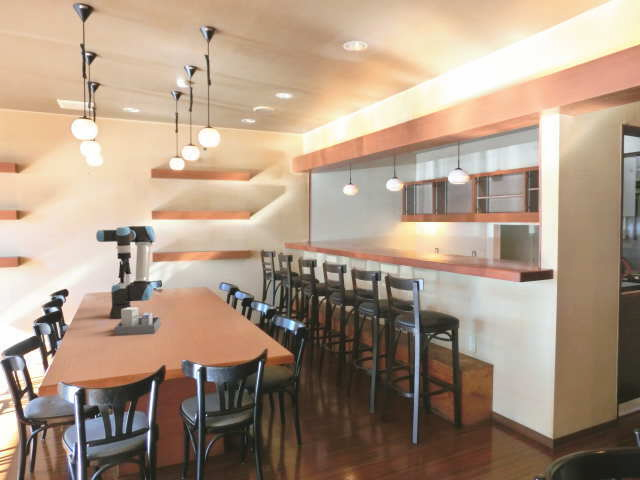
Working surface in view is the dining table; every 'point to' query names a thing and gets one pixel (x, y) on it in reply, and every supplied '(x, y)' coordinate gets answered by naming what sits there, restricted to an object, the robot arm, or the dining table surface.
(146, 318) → the medicine box
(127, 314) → the supplement box
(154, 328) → the tote
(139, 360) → the dining table surface
